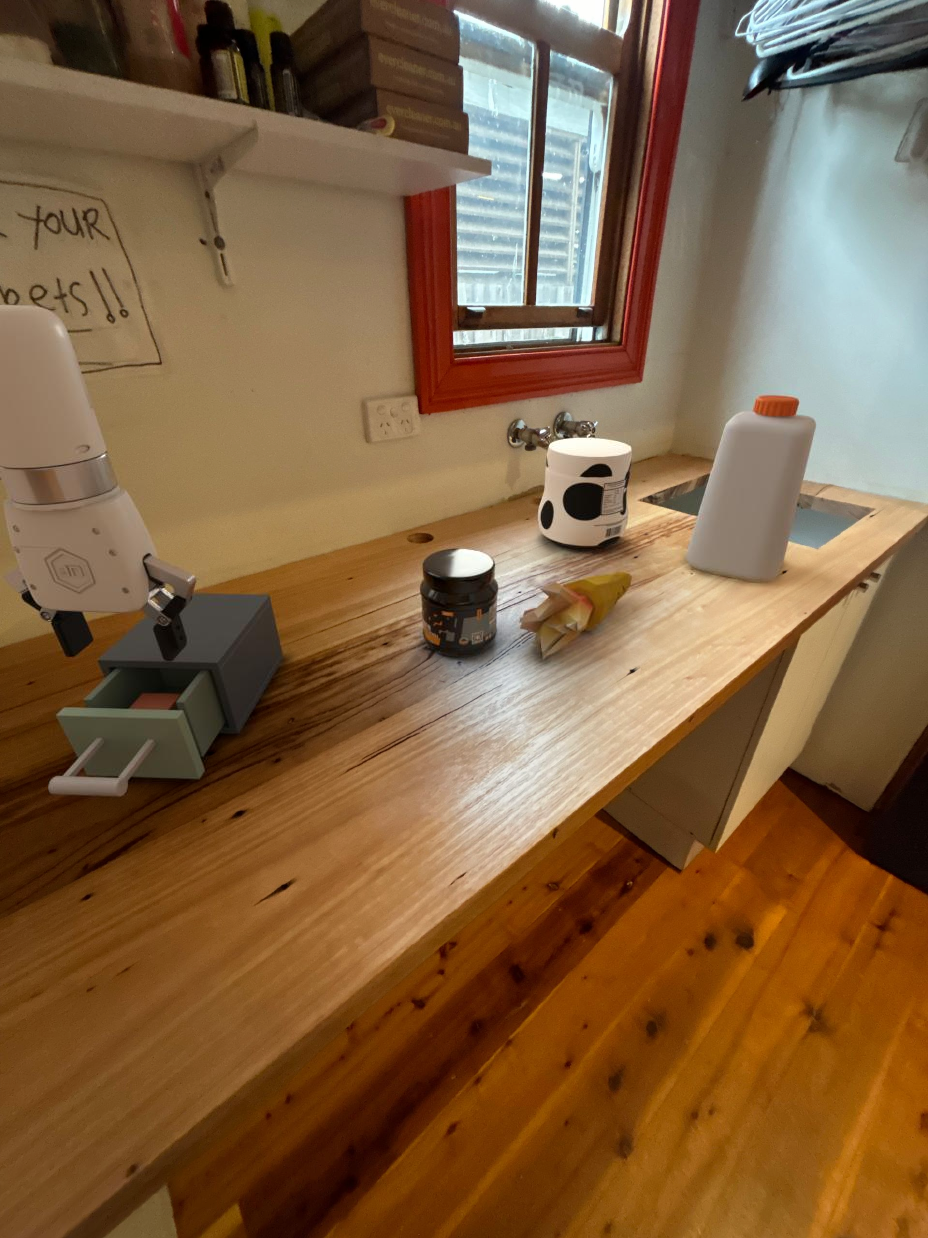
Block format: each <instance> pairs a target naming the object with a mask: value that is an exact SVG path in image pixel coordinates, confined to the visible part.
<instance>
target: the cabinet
mask: <svg viewBox="0 0 928 1238" xmlns="http://www.w3.org/2000/svg"><path fill="white" fill-rule="evenodd" d="M173 593H174V592H170V594H171V595H173V596H174V594H173ZM157 605H158V606H159V607H161V608H162V609H164V608H165V606H163V605H162V604H161V603H160V602H159V604H157ZM179 615H180V618H181V621H182V624H183V627H184V631H185V634H186V637H187V644H186V646H185V648H184V649H183V650H182V651H181V652H180V653H179V654H178V655H177V656H176V658H175V659H174V660H173V661H165V660H164V659H163V657H162V654H161V651H160V648H159V645H158V642H157V640H156V637H155V634H154V631H153V627H154V626H155V625H156V624H157V622H156V621H154V620H153V619H152V618H151V617H149V616H148V615H147V614H146V615H145V616H144V617H143V618H141V620H139V622H137V623H136V624H135V625H134V626H133V627H132V628H130V630H128V631H127V633H125V634H124V635H123V636H122V637H121V638H120V639H118V641H116V642H115V643H114V644H113V645H112V646H111V647H110V648H108V649H107V650H106V651H105V652H104V653H103V654H102V655H101V656H100V657H98V658H97V660H96V661H97V663H98V665H99V667H100V671H101V673H102V675H103V677H104V679H105V678H106V677H107V676H108V675H109V674H110V673H111V672H112V671H113V670H114V669H115V668H116V667H128V668H171V669H212V673H213V677H214V680H215V683H216V686H217V689H218V693H219V696H220V699H221V702H222V706H223V709H224V712H225V715H226V718H227V720H226V722H225V724H224V725H223V727H222V728H221V730H220V731H219V733H218V734H225V735H226V734H228V735H239V734H240V733H241V731H242V729H243V728H244V726H245V724H246V723H247V721H248V719H249V717H250V715H251V714H252V712H253V710H254V709H255V707H256V705H257V704H258V702H259V700H260V699H261V697H262V696H263V694H264V692H265V691H266V689H267V687H268V686H269V684H270V682H271V680H272V678H273V677H274V676H275V674H276V672H277V671H278V668H279V667H280V665H281V664H282V661H283V660H284V654H283V650H282V645H281V640H280V636H279V631H278V627H277V622H276V617H275V613H274V608H273V604H272V600H271V595H270V594H263V593H261V594H258V593H255V594H254V593H202V592H201V593H199V592H197V593H196V592H193V594H192V600H191V601H190V602H189V603H188V604H187V606H186V607H185V608H184V609H183V611H182V612H181V613H180V614H179Z"/></svg>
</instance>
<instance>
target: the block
mask: <svg viewBox="0 0 928 1238" xmlns="http://www.w3.org/2000/svg"><path fill="white" fill-rule="evenodd" d="M180 696H181V694H163V693H142V694H141V695H140V697H139V698H138V699H137V700H136V701H135V702H134V703H133V704H132V705H131V707H130V708H129V709H148V710H179V709H178V706H177V704H176V701H177V700H178V699H179V698H180Z"/></svg>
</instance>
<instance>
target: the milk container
mask: <svg viewBox="0 0 928 1238" xmlns="http://www.w3.org/2000/svg"><path fill="white" fill-rule="evenodd" d="M632 452H633V451H632V446H631V445H629V444H628V443H625V442H621V441H618V440H613V439H608V438H607V439H606V438H598V437H571V438H570V437H569V438H563V439H558V440H554V441H553V442H551V443H549V445H548V448H547V453H546V458H545V459H546V462H545V470H544V471H545V472H544V488H543V489H544V490H543V493H542V497H541V500H540V503H539V506H538V510H537V524H538V529H539V531H540V533H541V534H542V536H543V537H544V538H545V539H547V540H548V541H551V542H552V543H554V544H556V545H560V546H563V547H568V548H574V549H597V548H605V547H607V546H611V545H613V544H616V543H617V542H618V541H620V540H621V538H622V537H623V536H624V534H625V532H626V529H627V525H628V521H629V507H628V506H629V505H628V496H627V495H628V487H629V481H630V477H631V467H632V458H633V457H632V456H633V453H632Z"/></svg>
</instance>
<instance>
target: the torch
mask: <svg viewBox="0 0 928 1238" xmlns="http://www.w3.org/2000/svg"><path fill="white" fill-rule="evenodd" d="M632 580H633V577H632V575H631V574H630V573H629V572H626V571H622V570H618V571H615V572H613V573H607V574H598V575H591V576H588V577H584V578H580V579H577V580H573V581H569V582H566V583H563V584H561V583H559V582H557V581H554V582H552V583H549V584H546V585H544V586H541V587H539V590H540V591H541V592H542V593H544V595H546V596H547V597H546V599H544V601H542V602H541V603H540V604H539V605H538V606H537V607H534V608H530V609H526V610H524V611H523V615H522V616H520V617H519V621H518V623H519V624H520V627H519V629H520V630H524V631H528V632H532V633H535V637H534V640H533V643H532V647H535V646H537V645H540V647H541V653H542V660H545V659H546V658H547V657H549V655H553V654H554V653H555V652H557V651H559V650H561V649H562V648H564V647H565V646H568V644H569V643H570V642H572V641H573V640H574V639H576V637H577V636H578V635H580V634H581V633H582V632H583V631H585V632H588V631H590V630H592V629H593V628H595V627H597V626H598V625H599V624H601V623H602V621H603V620H604V619H605V618H606V617H607V616H608V614H609V613H610V611H612V609H613V608H614V607H615V605H616V604H617V603H618V601H619V600H620V599H621V598H622V597H623V596H624V595H625V594H626V593H627V591H628V590H629V588H630V586H631V585H632Z"/></svg>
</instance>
